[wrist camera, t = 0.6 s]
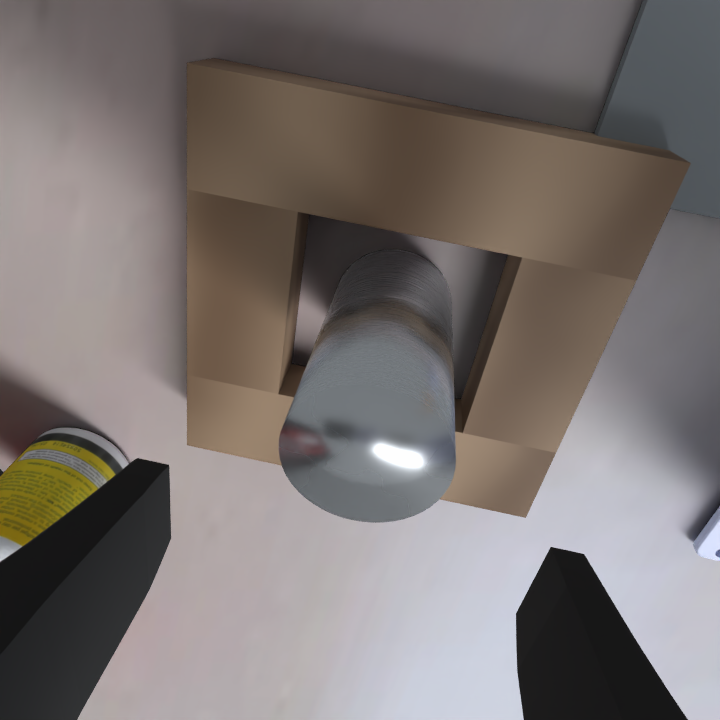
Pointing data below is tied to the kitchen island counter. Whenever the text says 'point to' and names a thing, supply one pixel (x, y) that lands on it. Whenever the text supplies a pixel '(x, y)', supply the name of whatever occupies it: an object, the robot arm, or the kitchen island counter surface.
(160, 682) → the kitchen island counter surface
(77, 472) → the supplement bottle
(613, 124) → the grey square plate
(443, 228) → the pocket block
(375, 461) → the peg
